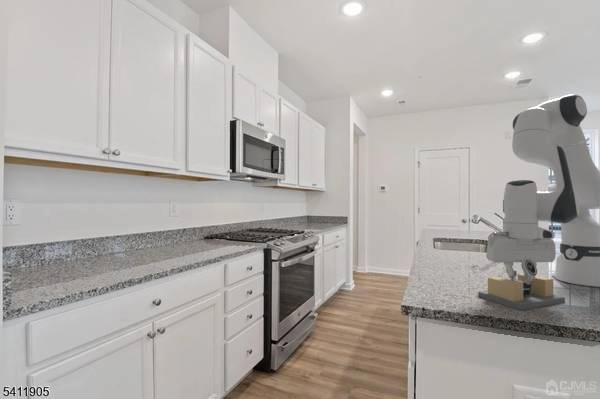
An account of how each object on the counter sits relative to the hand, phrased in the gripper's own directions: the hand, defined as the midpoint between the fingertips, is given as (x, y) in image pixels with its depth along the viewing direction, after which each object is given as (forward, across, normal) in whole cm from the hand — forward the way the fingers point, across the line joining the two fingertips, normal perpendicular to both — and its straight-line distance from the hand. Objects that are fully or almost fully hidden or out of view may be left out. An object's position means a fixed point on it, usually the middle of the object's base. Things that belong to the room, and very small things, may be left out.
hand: (520, 276), depth 93 cm
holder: (+7, 0, 0) cm, 7 cm away
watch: (+5, -1, 0) cm, 5 cm away
